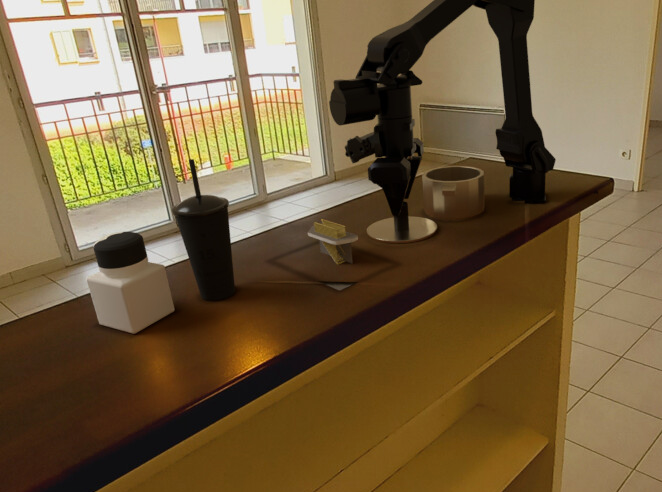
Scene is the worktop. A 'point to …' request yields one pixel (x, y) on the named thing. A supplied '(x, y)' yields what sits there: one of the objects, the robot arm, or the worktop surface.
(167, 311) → the medicine bottle
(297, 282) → the worktop surface
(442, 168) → the pot
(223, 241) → the drinking cup
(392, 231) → the lid
